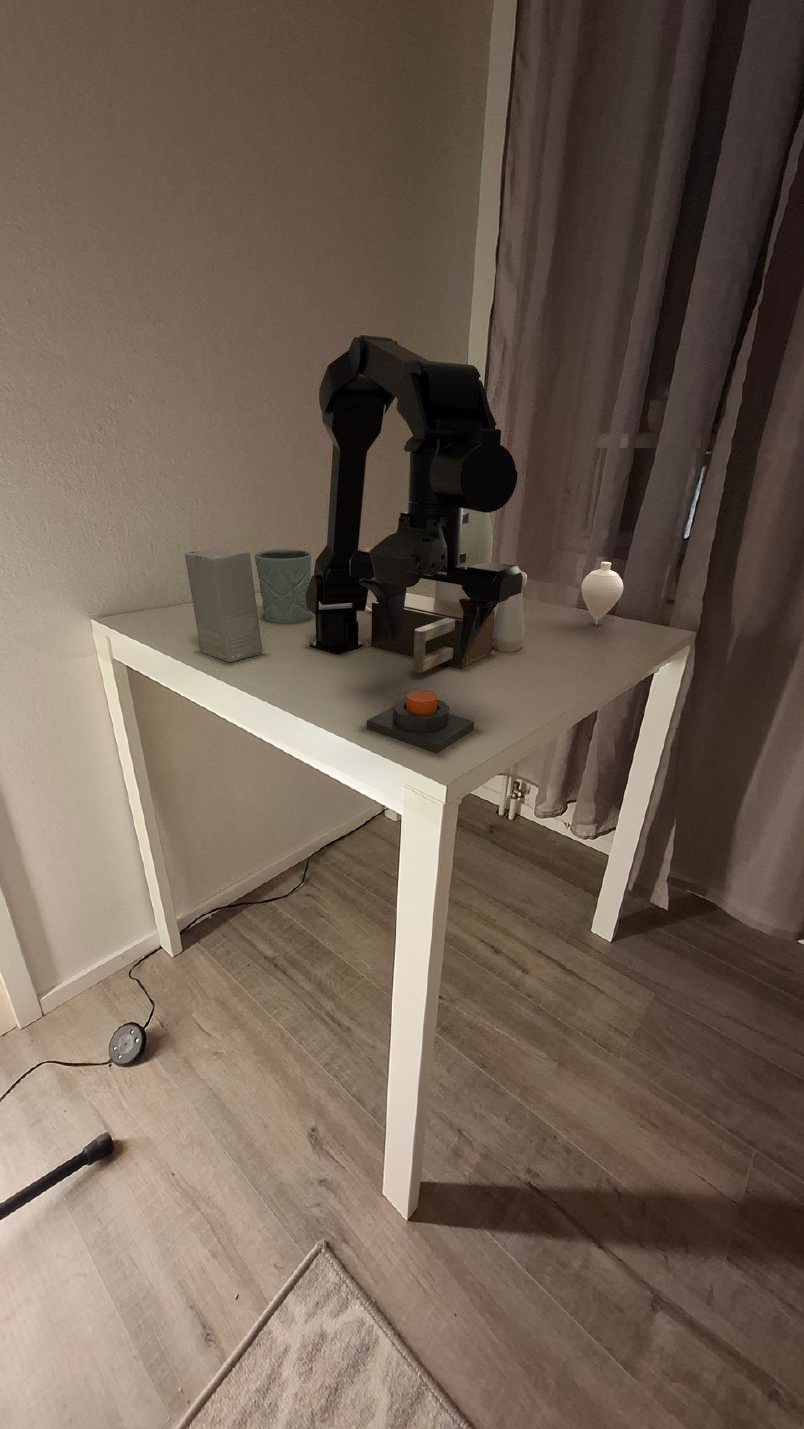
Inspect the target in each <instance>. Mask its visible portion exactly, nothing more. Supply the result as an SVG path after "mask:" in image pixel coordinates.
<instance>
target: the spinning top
mask: <svg viewBox="0 0 804 1429" xmlns="http://www.w3.org/2000/svg"><path fill="white" fill-rule="evenodd" d="M611 567H612V562H610V561H601V562H600V568H599V569H594V570H592V571H590V573H589V574H587V575H586V576H585V577H584V579H583V580H582V582H581V585H580V586H581V587H580V592H581V596H582V599H583V602H584V604H585V606H586V608H587V610H588V611H589V613H590V615H591V616H592V618H593V620H594V621H595V622H594V625H595V626H598V621H600V620H601V619H602V618H603V617H605V615H607V613H609V612H610V611H611V610H612V608H613V607H615V605H616V604H617V603H618V602H619V600H620V598H621V597H622V595H623V593H624V583H623V579H622V578H621V576H620V575H619V573H617V572H615V571H614V570H612V569H611Z"/></svg>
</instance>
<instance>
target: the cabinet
mask: <svg viewBox="0 0 804 1429" xmlns="http://www.w3.org/2000/svg"><path fill="white" fill-rule="evenodd" d="M376 602H378V601H377V600H376ZM404 608H408V609H412V610H417V611H422V612H427V613H431V614H436V615H441V616H445V617H450V618H455V619H460V620H463V610H462V607H461V605H460V603H456V602H451V601H446V600H441V599H436V597H430V596H426V595H419V594H415V593H410V592H406V597H405V605H404ZM495 615H496V610H495V609H494V610H493V611H492V613H491V614H490V616H489V617H488V619H487V620H486V622H485V624H484V626H483V628H482V630H481V632H480V633H479V635H478V637H477V639H476V641H475V643H474V645H473V647H472V649H471V651H470V653H469V654H468V656H467V657H465V668H464V669H467V668H468V667H470V666H473V665H475V664H477V663H479V662H481V661H483V660H485V659H486V658H489V657H491V655H492V647H493V645H492V637H493V626H494V619H495Z"/></svg>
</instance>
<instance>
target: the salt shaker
mask: <svg viewBox="0 0 804 1429" xmlns="http://www.w3.org/2000/svg"><path fill="white" fill-rule="evenodd" d="M520 571H521V573H522V576H523V581H522V590H521V593H519V594H516V595H514V596H511V597H509V599H508V600H505V601H503V602H500V603H498V604H497V608H496V610H495V616H494V626H493V637H492V647H493V649H495V650H496V651H497V652H502V653H516V652H518V651H520V649H521V648H522V645H523V644H524V642H525V639H526V629H525V613H524V612H525V611H524V595H523V594H524V593H523V592H524V591H523V588H526V586H527V583H528V575H527V573H526V572H524V571H522V570H520Z"/></svg>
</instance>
